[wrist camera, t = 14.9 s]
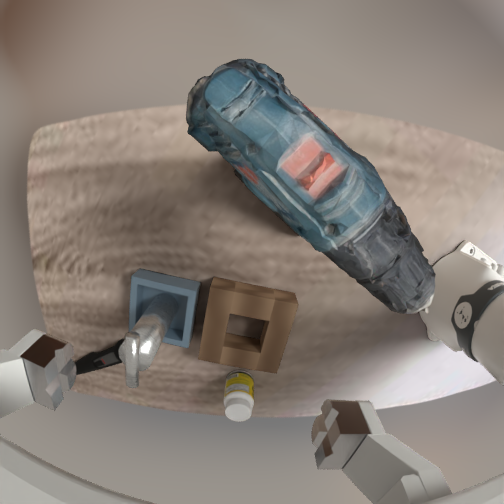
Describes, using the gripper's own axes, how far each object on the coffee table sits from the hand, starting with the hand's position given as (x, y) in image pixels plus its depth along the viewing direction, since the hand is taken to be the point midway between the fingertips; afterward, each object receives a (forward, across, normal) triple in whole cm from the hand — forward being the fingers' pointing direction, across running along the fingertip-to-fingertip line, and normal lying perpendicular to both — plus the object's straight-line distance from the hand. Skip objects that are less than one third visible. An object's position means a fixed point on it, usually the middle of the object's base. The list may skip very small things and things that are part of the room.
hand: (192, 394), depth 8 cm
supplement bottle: (+34, -5, +27) cm, 44 cm away
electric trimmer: (+35, +20, +29) cm, 49 cm away
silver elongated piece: (+34, +8, +15) cm, 38 cm away
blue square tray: (+34, +8, +15) cm, 38 cm away
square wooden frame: (+34, -4, +15) cm, 37 cm away
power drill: (+34, -6, -6) cm, 35 cm away
